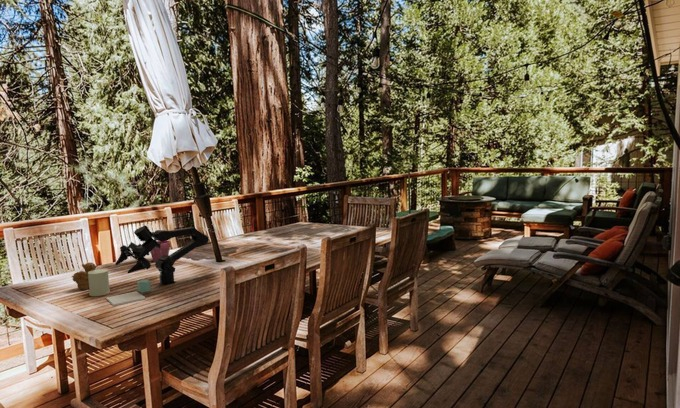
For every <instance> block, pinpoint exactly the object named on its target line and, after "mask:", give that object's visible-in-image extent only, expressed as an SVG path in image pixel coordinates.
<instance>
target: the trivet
mask: <svg viewBox="0 0 680 408" xmlns="http://www.w3.org/2000/svg"><path fill="white" fill-rule="evenodd" d="M105 299H106V300H107V301H108V302H109V303H110V304H111V305H112V306H113V307H116V306H120V305H124V304H130V303H134V302H138V301H142V300H146V297H145V296H144V295H143V294H142V293H140V292H139V291H138V290H136V291H132V292H126V293H122V294H116V295H111V296H106V298H105Z"/></svg>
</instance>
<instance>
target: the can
mask: <svg viewBox="0 0 680 408" xmlns="http://www.w3.org/2000/svg"><path fill="white" fill-rule="evenodd" d="M88 279H89V288H88V289H89V291H88V292H89V293H88V294H89V296H91V297H100V296H101V297H102V296H105V295H107V294H110V292H111V291H110V279H109V269H106V268H101V269H100V268H98V269H95V270H93V271H89V272H88Z"/></svg>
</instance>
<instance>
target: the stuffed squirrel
mask: <svg viewBox="0 0 680 408" xmlns="http://www.w3.org/2000/svg"><path fill="white" fill-rule="evenodd" d="M81 267H82V268H84V270H81V271H77V272H75V273H73V275H72V276H71V278H72V281H73V282H75V283H76V284H77V286H76V287H77V288H78V289H79V290H82V291H85V290H88V289H89V279H88V272H89V271H93V270H98V269H99V267H97V265H96V264H95V263H93V262H86V263H85V264H84V263H82V264H81Z"/></svg>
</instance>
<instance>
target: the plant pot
mask: <svg viewBox="0 0 680 408" xmlns="http://www.w3.org/2000/svg"><path fill="white" fill-rule="evenodd" d="M156 241H157V240H156ZM157 242H158V243H161V245H160V246H161V248H156V247H155V248H154V249H153V250H152V251H151V252H150V255H151V256H150V257H151V258H152V261H153V262H154V263H156V261H157V260H158V258H160V257H161V256H163V255H168V256H169V255H170V254H169V253H170V248H171V247H172V245H171V241H170V240H167V241H164V242H162V241H157Z"/></svg>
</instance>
